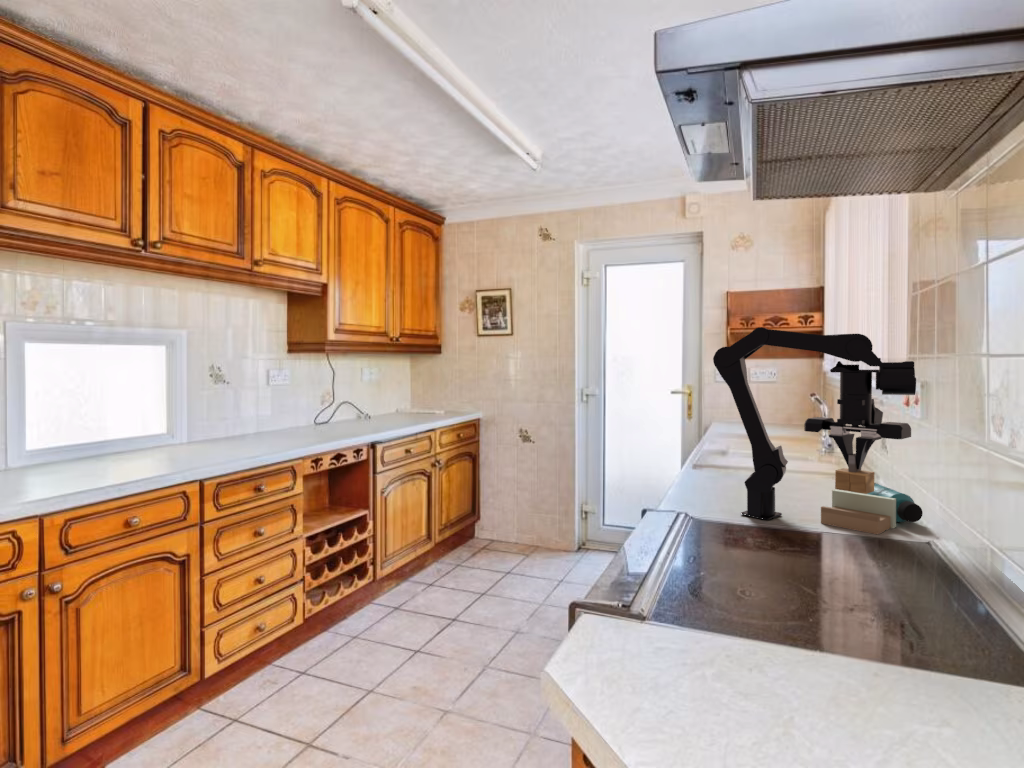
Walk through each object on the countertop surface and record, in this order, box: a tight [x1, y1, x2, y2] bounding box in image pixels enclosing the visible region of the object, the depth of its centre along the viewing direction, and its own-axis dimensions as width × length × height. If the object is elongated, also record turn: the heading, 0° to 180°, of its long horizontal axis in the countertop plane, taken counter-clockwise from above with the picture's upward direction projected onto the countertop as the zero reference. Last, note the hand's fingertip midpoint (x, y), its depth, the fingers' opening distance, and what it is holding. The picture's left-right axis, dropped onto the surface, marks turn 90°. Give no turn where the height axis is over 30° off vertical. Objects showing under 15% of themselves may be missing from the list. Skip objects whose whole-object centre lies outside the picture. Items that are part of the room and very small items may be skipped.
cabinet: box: [834, 452, 875, 494], centre depth 123 cm, size 4×6×8 cm
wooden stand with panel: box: [820, 488, 897, 535], centre depth 123 cm, size 8×12×6 cm, turn 38°
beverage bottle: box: [856, 482, 923, 523], centre depth 130 cm, size 6×7×20 cm
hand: (854, 468), depth 123 cm, fingers closed on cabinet
